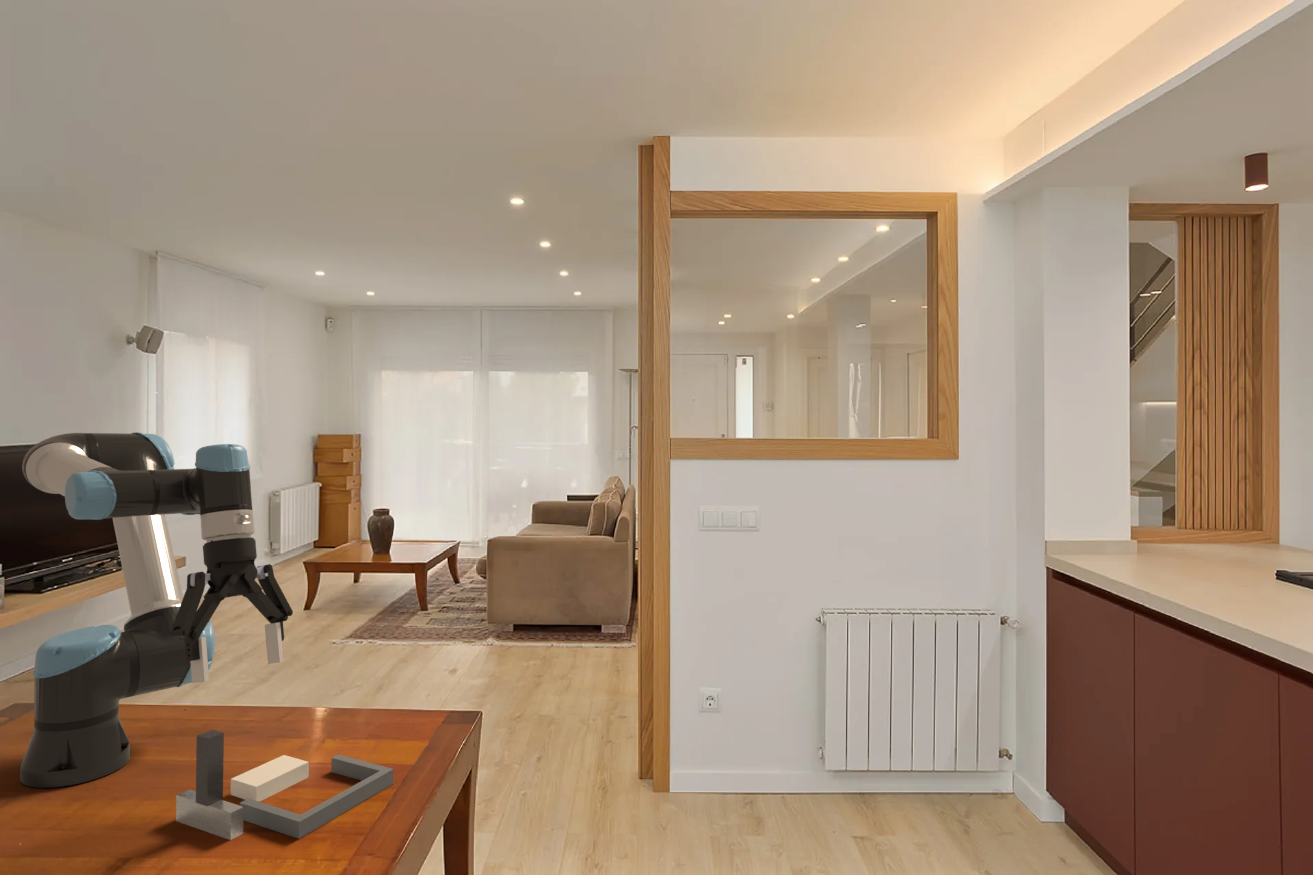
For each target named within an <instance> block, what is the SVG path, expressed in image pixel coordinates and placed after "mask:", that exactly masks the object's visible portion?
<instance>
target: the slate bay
mask: <svg viewBox="0 0 1313 875" xmlns="http://www.w3.org/2000/svg"><path fill="white" fill-rule="evenodd" d="M330 762H331V764H330V765H331V769H330V773H333V774H337V775H339V776H344V777H347V778H352V779H355V780H358V781H359V782H356V783H355V784H354V785H352V786H350V787H348V788H346V789H345V790H343V791H341V792H340V793H337V794H335V795H334V796H332V797H330V798H329V799H326V800H325V801H322V802H321V803H320V804H318V805H315V806H314V807H311V808H309V809H308V810H306V811H305V812H303V813H301V814H299V813H297V812H293V811H291V810H287V809H283V808H281V807H278V806H275V805H270V804H269V803H268V804H267V803H264V802H262V801H260V802H258V801H255V800H252V799H247V800H245V799H243V800H242V801H241V802H239V806H242V807H243V822H244V821H245V822H247V823H250V824H253V825H257V826H259V827H263V828H265V829H268V830H271V831H275V832H278V833H281V834H283V835H287V836H289V837H293V838H295V839H297V840H298V839H301V838H304V837H305V836H306V835H308V834H310V833H311V832H314V831H316V830H317V829H318V828H320V827H322V826H323V825H325V824H327V823H329V822H330V821H332V820H334V819H336V818H337V817H339V816H341V815H343V814H344V813H346V812H347V811H349V810H351V809H353V808H354V807H356V806H357V805H360V804H361V803H364V801H367V800H368V799H371V797H373V796H375V795H377V794H378V793H381V792H382V791H383V790H385V789H387V788H388V787H390V786H392V785H393V784H394V770H395V769H394V768H391V767H388V766H384V765H380V764H376V763H372V762H370V761H369V762H368V761H365V760H361V759H357V758H354V757H349V756H345V755H342V754H336V755H335V756H332V757H331V760H330Z"/></svg>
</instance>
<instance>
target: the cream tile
mask: <svg viewBox="0 0 1313 875" xmlns="http://www.w3.org/2000/svg"><path fill="white" fill-rule="evenodd" d="M309 763H310V762H309V761H307V760H303V759H300V758H296V757H293V756H289V755H286V754H283V755H280V756H279V757H276V758H274V759H272V760H270V761H267V762H265V763H263V764H261V765H259V766H256V767H254V768H252V769H249V770H247V771H245V772H243V773H241V774H238V775H236V776H234V777H232V778H230V796H233V797H236V798H238V799H241V800H247V799H252V800H255V801H258V802H262V801H264V800H265V799H268V798H270V797H272V796H274V795H276V794H279V793H280V792H282V791H284V790H286V789H288V788H290V787H292V786H294V785H296V784H297V783H300V782H302V781H304V780H306V779H308V778H309V777H310V775H309V773H310V767H309V766H310V764H309Z"/></svg>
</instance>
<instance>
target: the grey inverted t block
mask: <svg viewBox="0 0 1313 875" xmlns="http://www.w3.org/2000/svg"><path fill="white" fill-rule="evenodd" d="M224 735H225V732H223V731H218V730H215V729H211V730H208V731H206V732H202V733H200V734H197V735H196V747H195V748H196V749H195V751H196V755H195V757H196V759H195V760H196V761H195V767H196V768H195V771H196V772H195V775H196V776H195V790H193V789H186V790H185V791H182V792H180V793H177V794H176V796H175V822H178V823H180V824H183V825H186V826H189V827H192V828H195V829H197V830H201V831H203V832H205V833H209V834H212V835H214V836H218V837H220V838H223V839H226V840H228V841H232V840H233V839H235V838H237V837H239V836H241V835H243V834H244V820H243V807H242V806H240V804H236V803H233V802H230V801H227V800H224V754H225V753H224V751H225V749H224V746H225V738H224V737H225V736H224Z"/></svg>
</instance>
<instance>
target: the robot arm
mask: <svg viewBox="0 0 1313 875" xmlns="http://www.w3.org/2000/svg"><path fill="white" fill-rule="evenodd" d="M22 460H23V461H22V466H21V469H22V473H23V476H24V478H25V480H26V481H27V482H28V483H29V485H31V486H33V487H34V488H35V489H37V490H39V491H42V492H44V493H47V494H55V495H58V494H59V495H61V496H63V497H64V500H65V501H64V502H65V507H66V510H67V512H68V515H69V516H70V518H73V519H75V520H93V521H99V520H102V521H103V519H104V520H105V519H112V523H113V527H114V528H113V529H114V533H115V537H116V542H117V543H116V544H117V547H118V552H119V557H120V558H119V559H120V563H121V567H122V568H121V569H122V572H123V578H124V579H123V580H124V583H125V589H126V593H127V600H128V604H129V610H130V615H131V616H130V617H129V618H128V619H127V620H126V622H125V623H124V625H123V631H121V630H120V629H119V627H118V626H116V625H112V624H102V625H98V626H94V625H93V626H92V625H91V626H86V627H82V628H78V629H73V630H70V631H65V632H64V633H61V634H58V635H56V636H53V637H51V638H49V639H48V640H46V641H44V642H43V643H41V644H40V646H39V647H38V648H37V650H36V651H35V652H36V653H35V659H34V668H33V672H32V675H33V677H34V695H33V696H34V698H33V699H34V700H33V701H34V702H33V703H34V704H33V705H34V706H33V708H34V710H33V713H34V714H33V715H34V717H33V718H34V720H33V733H32V735H31V737H30V740H29V743H28V745H27V748H26V750H25V753H24V755H23V758H22V761H21V763H20V766H19V767H20V768H19V781H20V783H21V784H23V785H25V786H27V787H31V788H37V789H38V788H39V789H41V788H42V789H46V788H51V789H52V788H61V787H66V786H67V787H68V786H74V785H77V784H83V783H86V782H90V781H94V780H96V779H99V778H102V777H104V776H108V775H110V774H113V773H114V772H116V771H119V770H120V769H121V768H123V767H124V766H125V765H126V764H127V763H129V761H130V759H131V744H130V740H129V739H128V736H127V734H126V731H125V729H124V726H123V724H122V722H121V719H120V714H119V709H120V708H119V707H120V706H119V704H120V700H123V699H126V698H127V699H128V698H130V697H136V696H141V695H145V694H149V693H153V692H159V691H163V690H168V689H172V688H181V687H182V686H184V685H185V686H186V685H188V684H195V683H203V682H208V681H210V676H209V675H210V674H209V671H210V669H211V667H212V663H213V659H214V656H215V655H214V654H215V645H216V644H215V642H216V638H215V637H216V636H215V630H214V626H213V624H212V622H211V619H212V617H213V615H214V614H215V612H216V611H217V608H219V605H220V604H221V602H222V601H223V600H225V599H226V598H231V597H232V598H233V597H239V596H242V597H244V598H246V599H247V600H248V602H250V603H251V604H252V605H253V606H254V607H255V608H256V609H257V611H259V613H260V614H261V615H262V616H263V617H264V618H265V619H266V620H267V621H268V624H264V633H265V634H264V635H265V645H266V656H267V664H268V665H269V664H270V665H271V664H278V663H284V662H285V661H284V653H283V652H284V649H283V641H284V640H285V630H284V622H286V621H288V618H289V617H291V616H293V613H294V611H293V609H292V607H291V606H290V603H289V602H288V599H287V598H286V596H285V594H284V592H283V590H282V589H281V587H280V585H279V583H278V581H277V580H276V578H275V573H274V569H273V565H272V564H270V563H269V564H264V565H263V564H262V565H258V566H256V565H255V561H256V559H257V556H258V554H257V545H256V544H257V543H256V539H255V538H254V537H252V536H251V535H254V533H255V522H254V511H253V501H252V499H253V498H252V487H251V485H252V484H251V472H250V469H251V466H250V463H249V457H248V450H247V449H246V448H245V447H244V446H242V445H240V444H234V443H224V444H223V443H222V444H221V443H220V444H212V445H205V446H202V447H199V448H198V449H197V451H195V463H194V467H195V468H176V469H175V467H174V466H175V458H174V455H173V452H172V449H171V447H170V445H169V443H168V442H167V441H166V440H165V439H164V438H163V437H162V436H160V435H157V434H155V433H143V432H136V431H135V432H131V433H116V432H115V433H111V432H110V433H109V432H107V433H105V432H104V433H103V432H102V433H101V432H99V433H98V432H97V433H96V432H94V433H93V432H88V433H87V432H72V433H71V432H70V433H63V434H58V435H54V436H51V437H48V438H45V439H43V440H41V441H39V442H38V443H36V444H35V445H33V446H32V447H31V448H29V450H28V452H27V451H26V453H25V456H24V458H23V459H22ZM176 514H177V515H178V514H180V515H184V516H193V515H194V516H195V515H199V516H200V518H199V519H200V532H201V540H203V541H206V542H205V543H204V544H203V545H202V553H203V554H202V556H203V564H204V565H205V567H206V572H204V571H197V572H192V573H188V574H187V576H186V590H185V592H184V594H183V590H182V587H181V586H182V585H181V581H180V577H179V572H178V568H177V563H176V558H175V554H174V550H173V544H172V542H171V541H172V540H171V538H170V537H171V536H170V532H169V526H168V523H167V520H166V519H167V518H166V515H176ZM256 579H257V581H258V582H257V581H256ZM206 585H208V586H209V587H208V590H206V593H205V594H204V591H205V587H206ZM203 594H204V595H203ZM202 597H203V600H202ZM201 600H202V601H201ZM200 602H201V603H200Z"/></svg>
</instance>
